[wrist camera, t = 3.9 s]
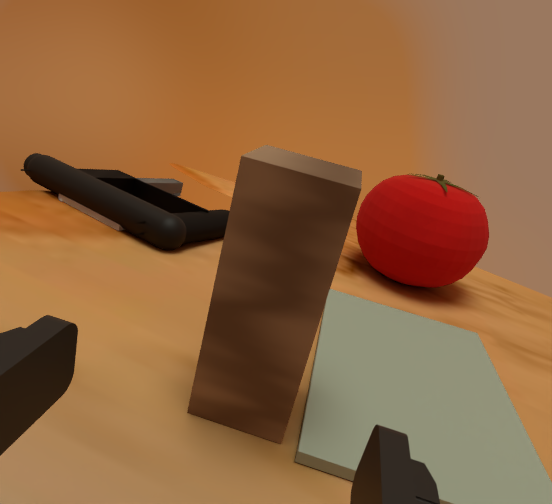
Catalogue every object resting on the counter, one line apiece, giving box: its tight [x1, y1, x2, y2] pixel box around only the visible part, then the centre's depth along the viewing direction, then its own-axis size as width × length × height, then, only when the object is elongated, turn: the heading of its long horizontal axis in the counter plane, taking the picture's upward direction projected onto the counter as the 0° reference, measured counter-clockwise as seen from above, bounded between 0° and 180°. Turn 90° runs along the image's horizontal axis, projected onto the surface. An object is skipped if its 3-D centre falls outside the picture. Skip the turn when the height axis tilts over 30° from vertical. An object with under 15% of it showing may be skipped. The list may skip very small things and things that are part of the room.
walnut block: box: [187, 145, 362, 444], centre depth 20 cm, size 4×4×12 cm
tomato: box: [356, 174, 489, 287], centre depth 43 cm, size 11×12×10 cm
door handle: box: [21, 153, 230, 250], centre depth 45 cm, size 3×20×16 cm
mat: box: [295, 289, 552, 504], centre depth 27 cm, size 12×18×1 cm, turn 169°
